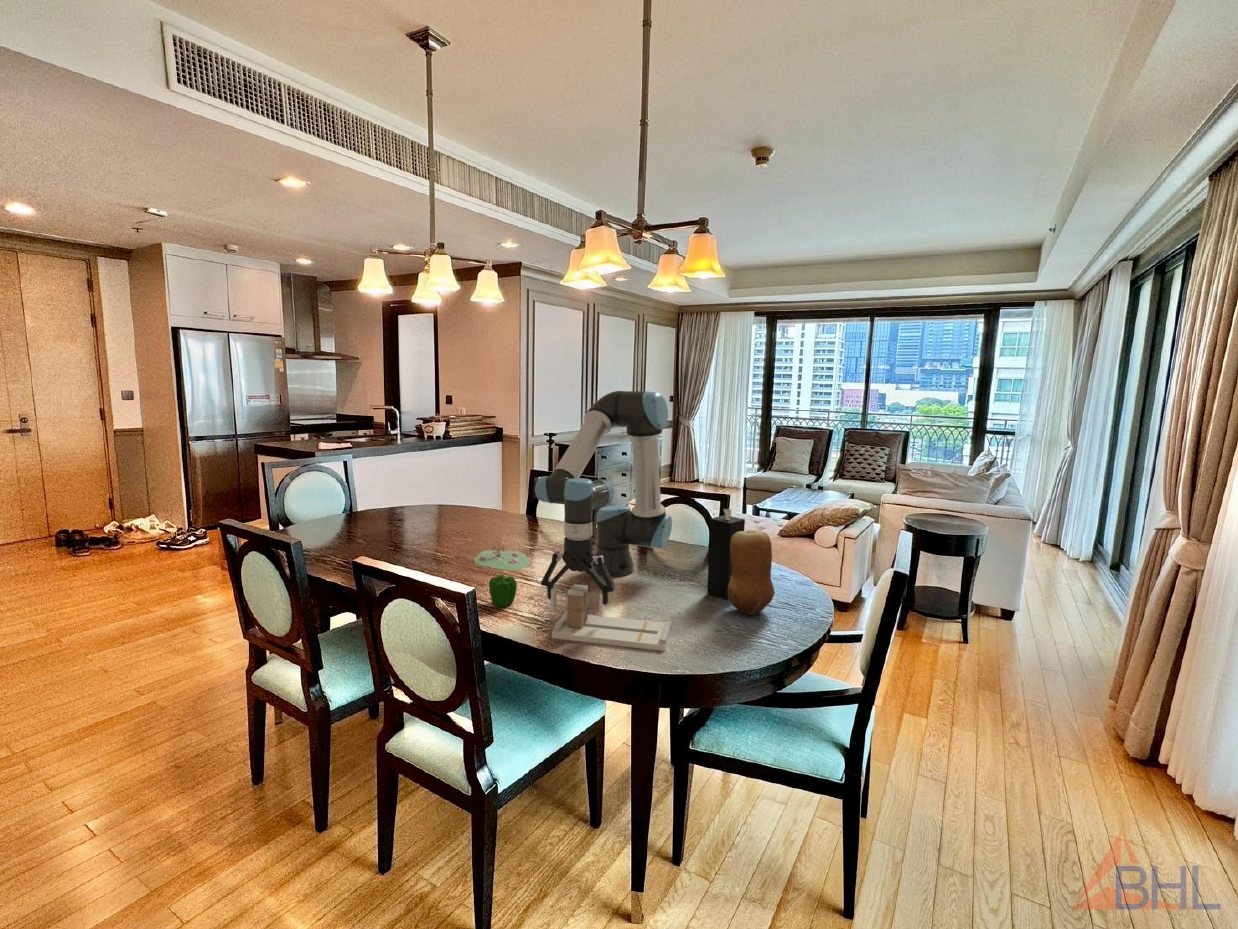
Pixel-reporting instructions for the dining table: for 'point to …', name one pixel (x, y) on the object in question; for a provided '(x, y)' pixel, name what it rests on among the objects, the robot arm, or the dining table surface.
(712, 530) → the tissue box
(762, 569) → the butternut squash
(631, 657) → the dining table surface
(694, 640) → the dining table surface
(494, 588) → the bell pepper
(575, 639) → the slider console
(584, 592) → the fader knob
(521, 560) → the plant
